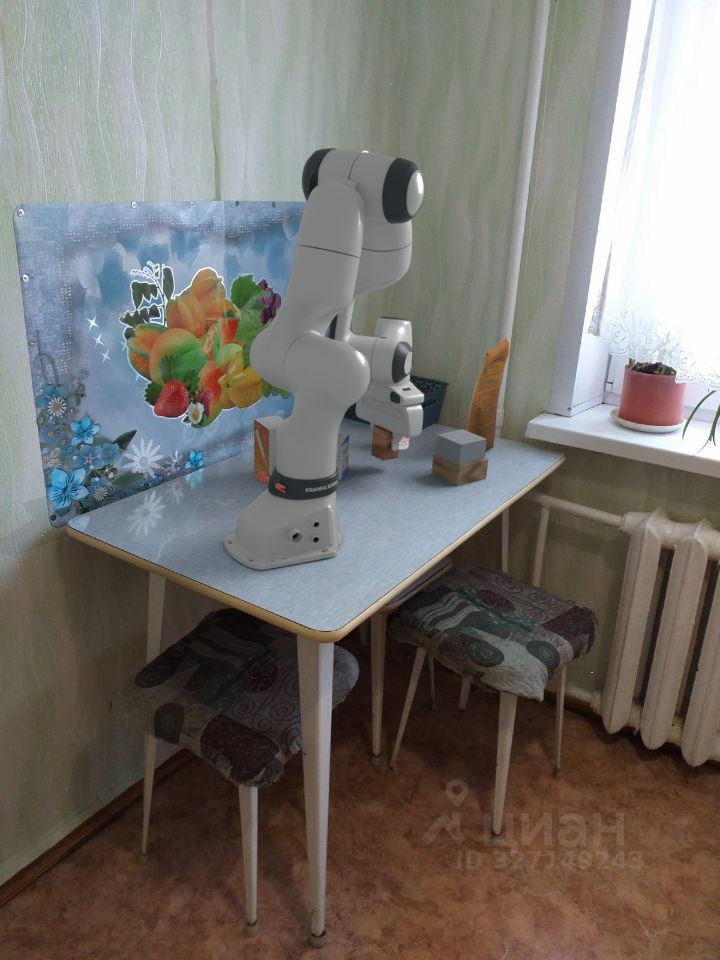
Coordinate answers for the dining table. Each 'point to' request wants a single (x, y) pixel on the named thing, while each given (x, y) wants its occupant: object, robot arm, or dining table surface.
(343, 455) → the medicine box
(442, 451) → the tower top
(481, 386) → the pancake mix bag
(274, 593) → the dining table surface
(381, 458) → the cherry block
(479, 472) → the tower base
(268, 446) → the small box
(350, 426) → the dining table surface
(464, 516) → the dining table surface
